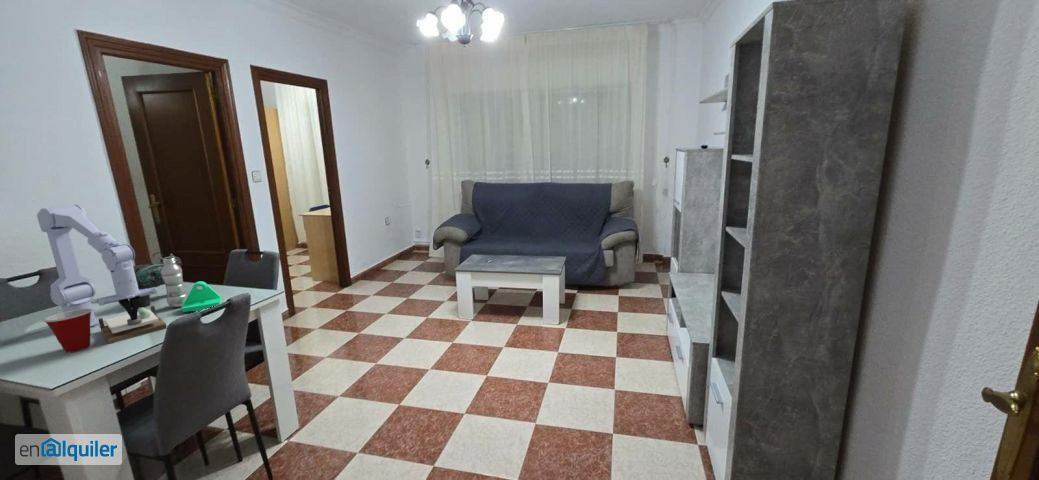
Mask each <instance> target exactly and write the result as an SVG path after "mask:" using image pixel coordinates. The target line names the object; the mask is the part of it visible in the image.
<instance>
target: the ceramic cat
mask: <svg viewBox="0 0 1039 480" xmlns="http://www.w3.org/2000/svg"><path fill="white" fill-rule="evenodd" d="M157 254H160V255H161V256H162V257H158V259H159V260H160V261H159V262H157V263H152V262H151V263H144V264H140V265H141V266H139V267H137V268H136V269H135V271H134V272H136V271H137V269H138V268H140V267H142V266H144V265H147V264H149V265H148V266H146V267H144V268H142V269H140V270H138V271H137V272H136V273H135V276H136V280H137V284H138V289H139V290H141V289H147V288H153V287H155V288H156V287H157V288H158V287H160V286H163V285H165V283H164V280H163V278H162V275H161V270H162V268H163V267H164V264H163V259H164V258H169V257H175V260H176V262H175V263H176V264H177V265H178V266H180V267H181V268H182V266H183V262H182V260H181V258H180V257H178V256H175V255H174V254H173V253H170V254H169V256H165V257H164V255H163V253H162V252H158V251H157V252H154V253H153V255H152V257H154V258H155V255H157ZM150 297H151V294H150V295H145V296H141V297H140V298H141V302H140V305H139V308H142V307H143V308H146V307H149V306H151V302H150V299H151V298H150ZM139 308H138V309H139Z"/></svg>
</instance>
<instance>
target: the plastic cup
mask: <svg viewBox="0 0 1039 480" xmlns="http://www.w3.org/2000/svg"><path fill="white" fill-rule="evenodd" d="M92 308H93V307H92ZM92 308H85V309H77V310H72V311H67V312H63V311H62V312H59V313H56V314H52V315H50V316H47V317H45V318H43V320H42V321H43V322H44V323H46V325H47V326H48V327H49V329H51V332H52V333H53V335H54V336H55V338H56V340H57V341H58V343H59V344H60V346H61V348H62V349H63V351H64V352H65V353H74V352H79V351H81V350H85V349H87V348H89V347H90V346H91V335H92V334H91V327H90V316H91V311H92Z"/></svg>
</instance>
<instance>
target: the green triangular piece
mask: <svg viewBox="0 0 1039 480" xmlns="http://www.w3.org/2000/svg"><path fill="white" fill-rule="evenodd" d="M199 287H200V289H199ZM187 296H188V297H187V299H186V300H185V302H184V304H183V306H181V312H182V313H187V312H188V313H189V312H192V311H193V312H194V311H195V313H197V312H196V311H201V310H203V309H207V308H209V309H210V307H211V308H213V307H212V306H216V305H219V304H220V305H221V303H222V301H223V300H222V296H221V295H220V294H219V293H218V292H216V291H215V290H214V288H213V287H211V286H210V285H209V284H207V282H205V281H197V282H195V283H194V284H193V286H192V287H191V290H190V291H189V293H188V294H187ZM201 312H202V311H201Z"/></svg>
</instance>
